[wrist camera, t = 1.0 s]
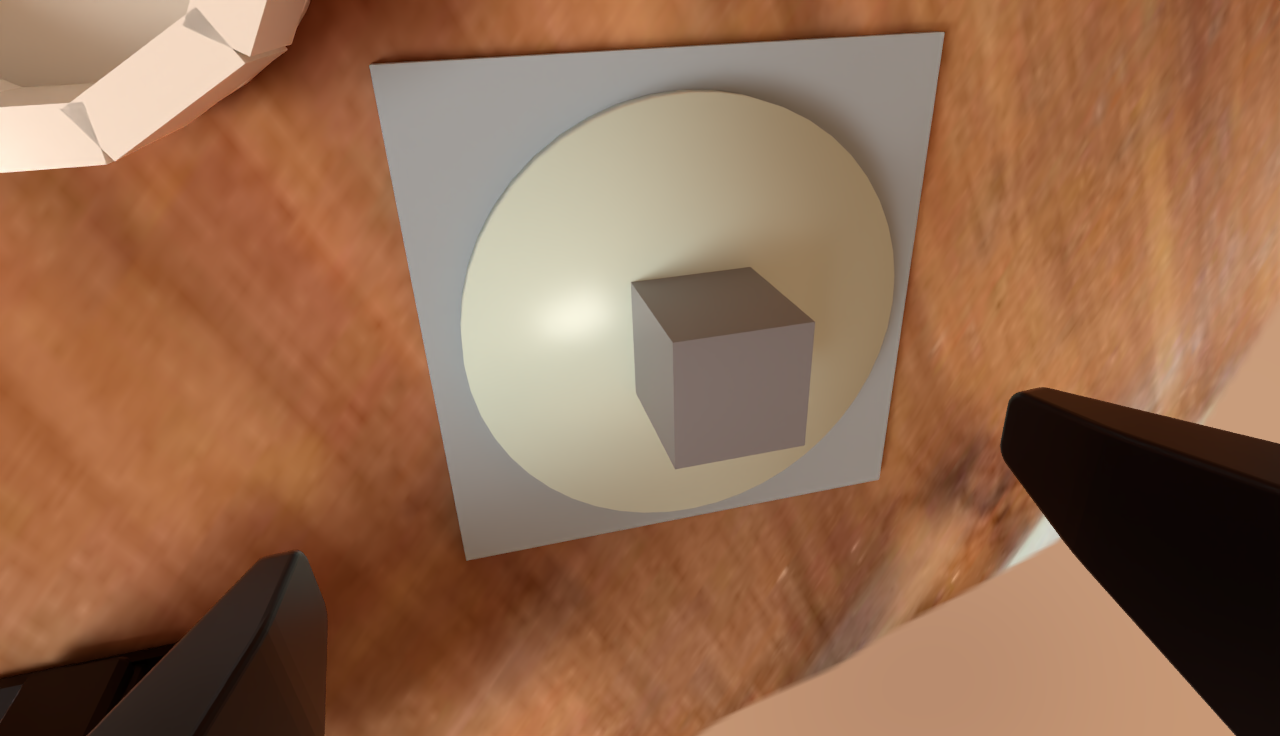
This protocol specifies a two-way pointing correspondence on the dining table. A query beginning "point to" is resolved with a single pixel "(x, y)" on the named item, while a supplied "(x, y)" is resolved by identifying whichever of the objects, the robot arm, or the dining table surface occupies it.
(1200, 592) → the robot arm
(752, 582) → the dining table surface
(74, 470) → the dining table surface
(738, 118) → the cover
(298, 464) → the dining table surface
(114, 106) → the bowl
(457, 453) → the mat
